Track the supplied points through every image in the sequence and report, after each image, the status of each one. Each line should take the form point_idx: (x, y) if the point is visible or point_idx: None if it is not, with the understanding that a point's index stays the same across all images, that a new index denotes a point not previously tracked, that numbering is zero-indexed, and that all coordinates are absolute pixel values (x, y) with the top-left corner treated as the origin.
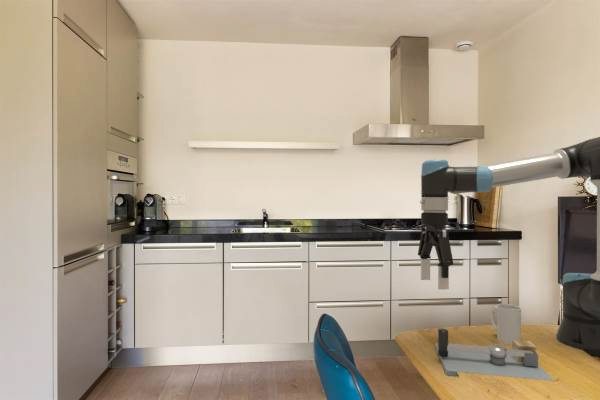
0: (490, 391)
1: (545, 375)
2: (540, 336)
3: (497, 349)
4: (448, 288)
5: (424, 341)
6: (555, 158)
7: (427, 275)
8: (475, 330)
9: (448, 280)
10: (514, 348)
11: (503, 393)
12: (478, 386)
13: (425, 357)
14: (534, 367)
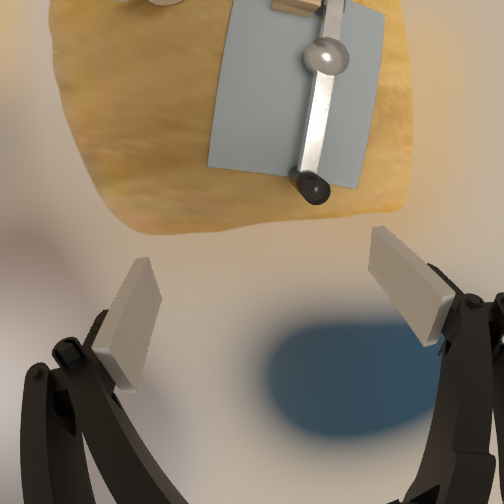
0: (405, 136)
1: (366, 12)
2: None
3: (344, 63)
4: (385, 228)
5: (167, 182)
6: None
7: (147, 286)
8: (76, 41)
9: (407, 247)
10: (290, 4)
11: (410, 119)
12: (391, 147)
13: (270, 203)
14: None
